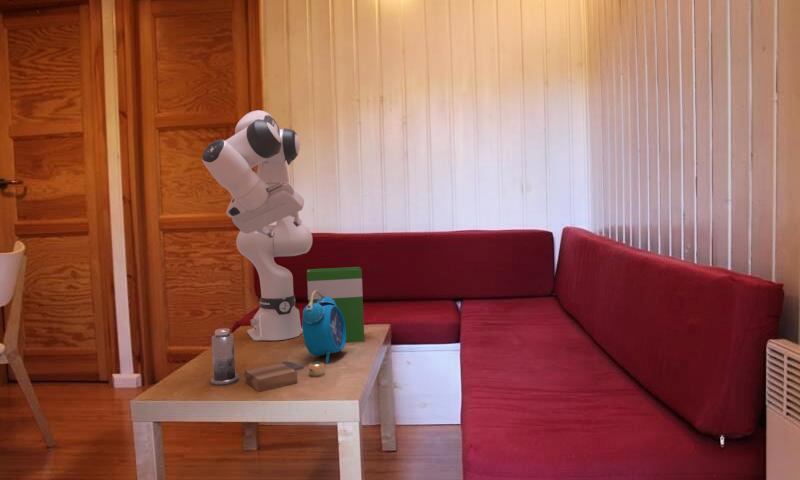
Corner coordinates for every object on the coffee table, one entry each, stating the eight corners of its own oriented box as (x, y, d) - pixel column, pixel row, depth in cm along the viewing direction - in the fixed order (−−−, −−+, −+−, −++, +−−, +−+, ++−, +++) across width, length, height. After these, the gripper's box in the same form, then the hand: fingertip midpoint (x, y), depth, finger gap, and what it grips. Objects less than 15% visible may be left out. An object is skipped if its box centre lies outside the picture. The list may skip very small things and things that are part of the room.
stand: (245, 381, 139) (244, 370, 139) (281, 373, 145) (281, 362, 145) (259, 391, 131) (258, 379, 131) (297, 382, 137) (296, 371, 137)
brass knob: (306, 374, 144) (306, 363, 144) (320, 371, 146) (319, 360, 146) (313, 378, 141) (312, 366, 141) (327, 375, 143) (326, 363, 143)
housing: (207, 381, 141) (204, 329, 140) (233, 375, 145) (231, 325, 144) (215, 387, 136) (212, 334, 135) (242, 381, 140) (240, 330, 139)
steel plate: (268, 370, 151) (268, 366, 150) (285, 365, 155) (285, 361, 155) (286, 375, 145) (286, 371, 145) (303, 369, 150) (303, 365, 150)
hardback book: (362, 336, 185) (359, 266, 183) (364, 341, 178) (361, 269, 176) (310, 340, 182) (307, 269, 181) (310, 345, 175) (306, 272, 173)
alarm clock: (334, 365, 151) (330, 295, 150) (299, 364, 153) (296, 295, 152) (351, 349, 168) (348, 286, 166) (319, 349, 170) (316, 286, 168)
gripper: (287, 172, 139) (318, 209, 147) (227, 201, 147) (260, 234, 155) (282, 187, 135) (314, 224, 143) (221, 216, 142) (254, 250, 150)
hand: (285, 230), depth 149 cm, fingers open, 8 cm apart
